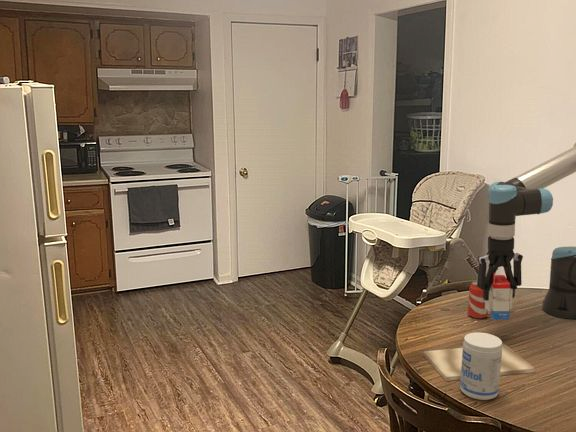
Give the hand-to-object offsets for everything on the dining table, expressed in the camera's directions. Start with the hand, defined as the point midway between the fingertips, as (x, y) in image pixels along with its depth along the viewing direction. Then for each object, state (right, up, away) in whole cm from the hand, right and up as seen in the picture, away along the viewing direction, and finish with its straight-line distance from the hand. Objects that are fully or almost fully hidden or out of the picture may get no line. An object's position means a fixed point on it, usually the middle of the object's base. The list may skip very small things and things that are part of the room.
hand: (498, 308), depth 180 cm
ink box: (0, -2, 0) cm, 2 cm away
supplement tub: (-16, -17, -29) cm, 37 cm away
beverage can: (0, -6, +21) cm, 22 cm away
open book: (-11, -14, -14) cm, 22 cm away
